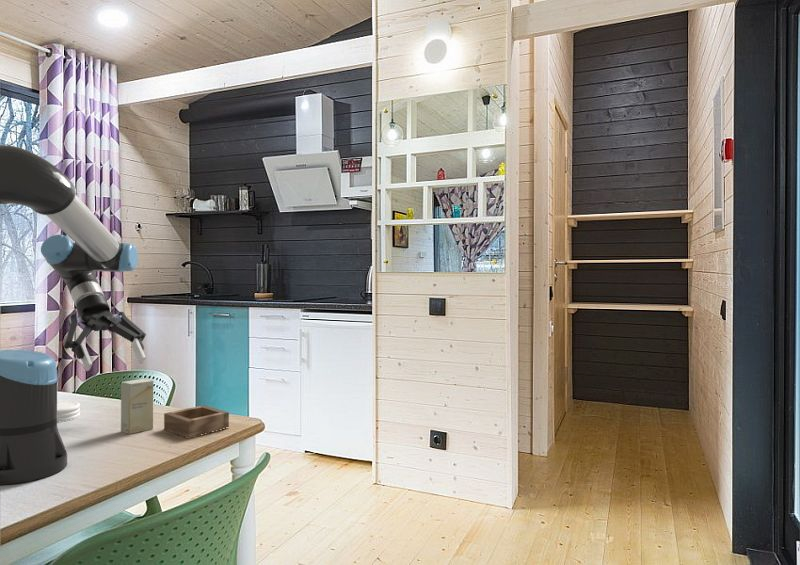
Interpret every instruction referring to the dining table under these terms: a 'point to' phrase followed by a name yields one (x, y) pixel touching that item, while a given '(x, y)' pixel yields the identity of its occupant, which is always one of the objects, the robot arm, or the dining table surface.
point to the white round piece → (67, 410)
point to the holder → (196, 421)
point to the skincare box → (136, 405)
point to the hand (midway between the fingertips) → (117, 364)
